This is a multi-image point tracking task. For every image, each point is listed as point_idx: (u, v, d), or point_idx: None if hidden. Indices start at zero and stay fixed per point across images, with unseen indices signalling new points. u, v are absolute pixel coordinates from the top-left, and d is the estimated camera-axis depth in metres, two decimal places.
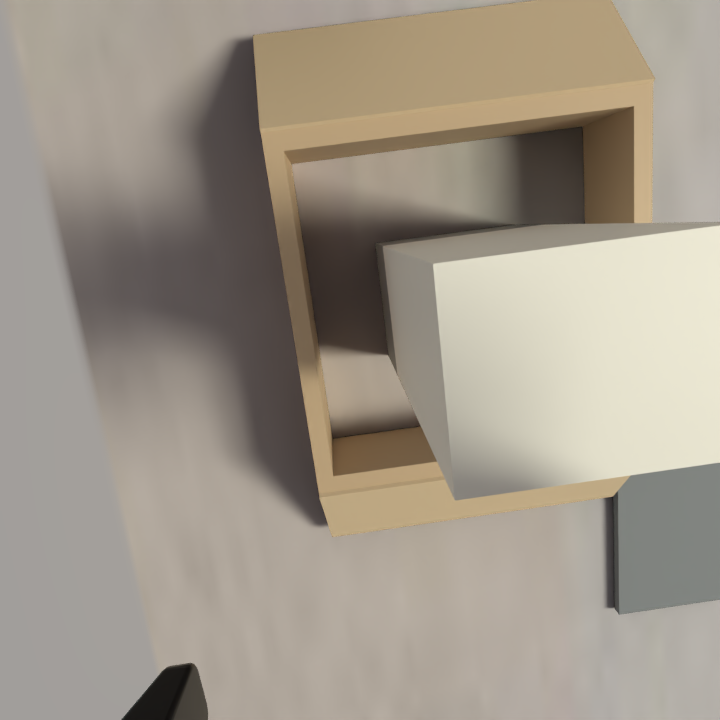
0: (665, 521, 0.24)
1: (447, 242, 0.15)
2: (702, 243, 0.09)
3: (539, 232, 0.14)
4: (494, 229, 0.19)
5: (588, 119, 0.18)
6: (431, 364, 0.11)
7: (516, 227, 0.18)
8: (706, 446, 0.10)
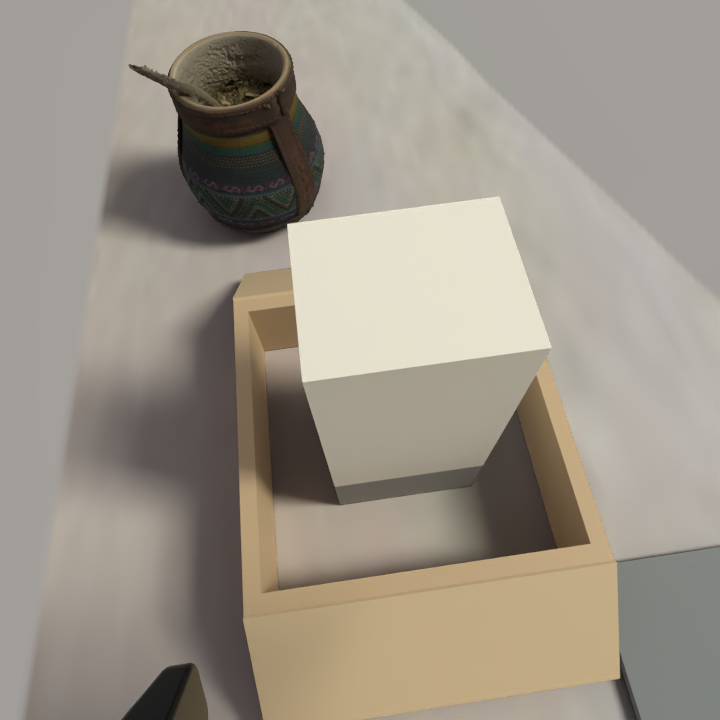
0: None
1: None
2: (471, 208, 0.14)
3: None
4: None
5: None
6: None
7: None
8: (520, 336, 0.12)
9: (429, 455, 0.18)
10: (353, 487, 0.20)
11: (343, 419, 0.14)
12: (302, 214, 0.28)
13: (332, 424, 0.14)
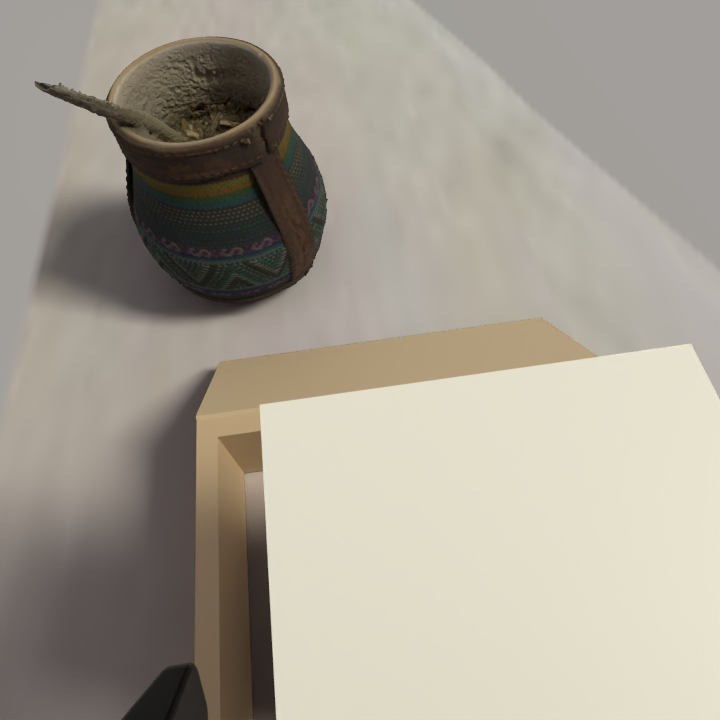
0: None
1: None
2: (638, 370, 0.07)
3: None
4: None
5: None
6: None
7: None
8: None
9: None
10: None
11: None
12: (297, 278, 0.21)
13: None
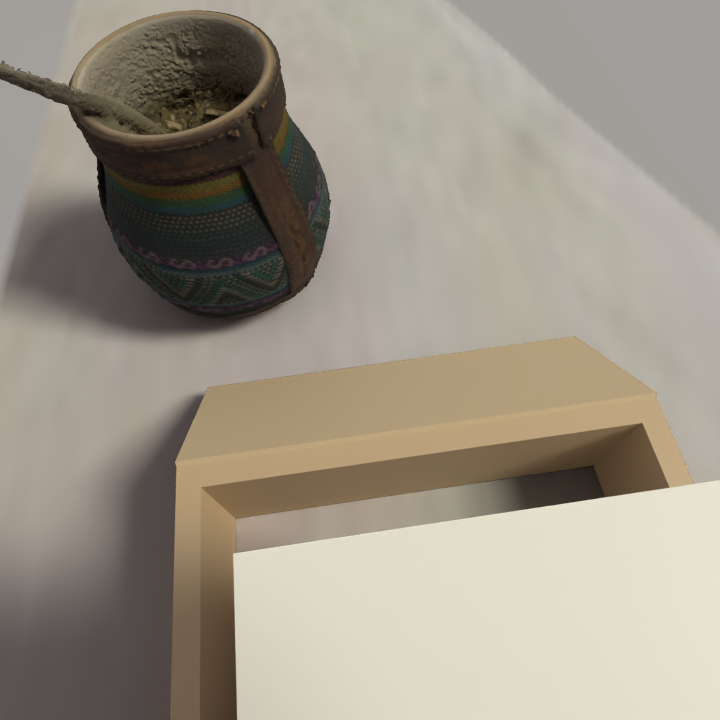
0: None
1: None
2: None
3: None
4: None
5: (593, 449, 0.15)
6: None
7: None
8: None
9: None
10: None
11: None
12: (297, 291, 0.18)
13: None
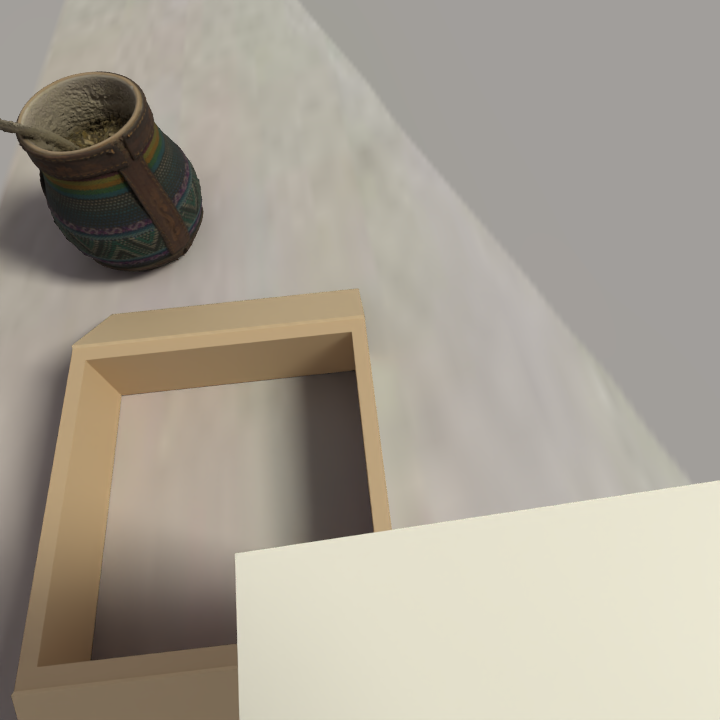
0: None
1: None
2: None
3: None
4: None
5: (339, 353, 0.24)
6: None
7: None
8: None
9: None
10: None
11: None
12: (177, 254, 0.27)
13: None
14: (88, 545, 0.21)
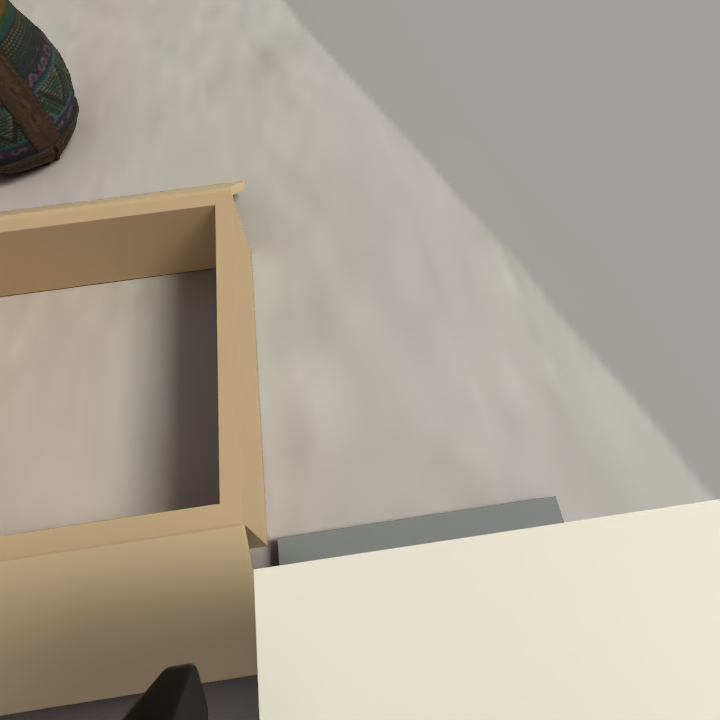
0: None
1: None
2: None
3: None
4: None
5: (210, 238, 0.21)
6: None
7: None
8: None
9: None
10: None
11: None
12: (45, 151, 0.25)
13: None
14: None
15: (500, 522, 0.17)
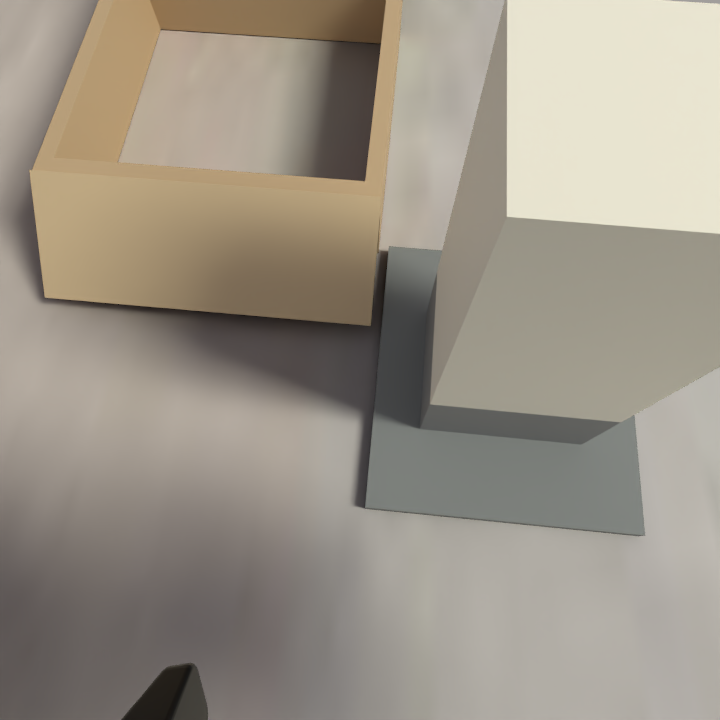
0: None
1: None
2: None
3: None
4: None
5: (373, 6, 0.24)
6: (489, 146, 0.09)
7: None
8: None
9: (573, 392, 0.14)
10: (450, 410, 0.16)
11: (514, 304, 0.10)
12: None
13: (494, 309, 0.10)
14: (111, 118, 0.22)
15: None
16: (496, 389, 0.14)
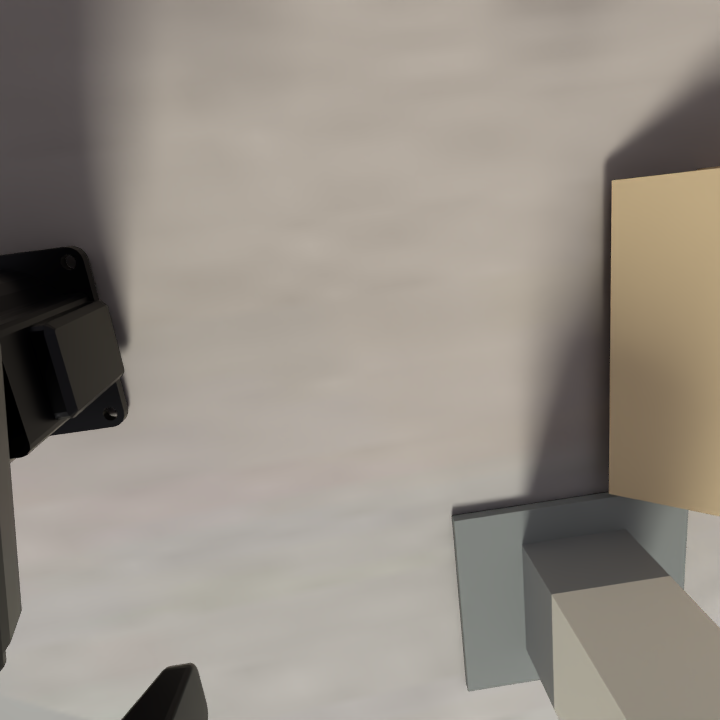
0: None
1: None
2: None
3: None
4: None
5: None
6: None
7: None
8: None
9: (579, 718, 0.19)
10: (546, 600, 0.20)
11: None
12: None
13: None
14: None
15: None
16: (574, 668, 0.18)
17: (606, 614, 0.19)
